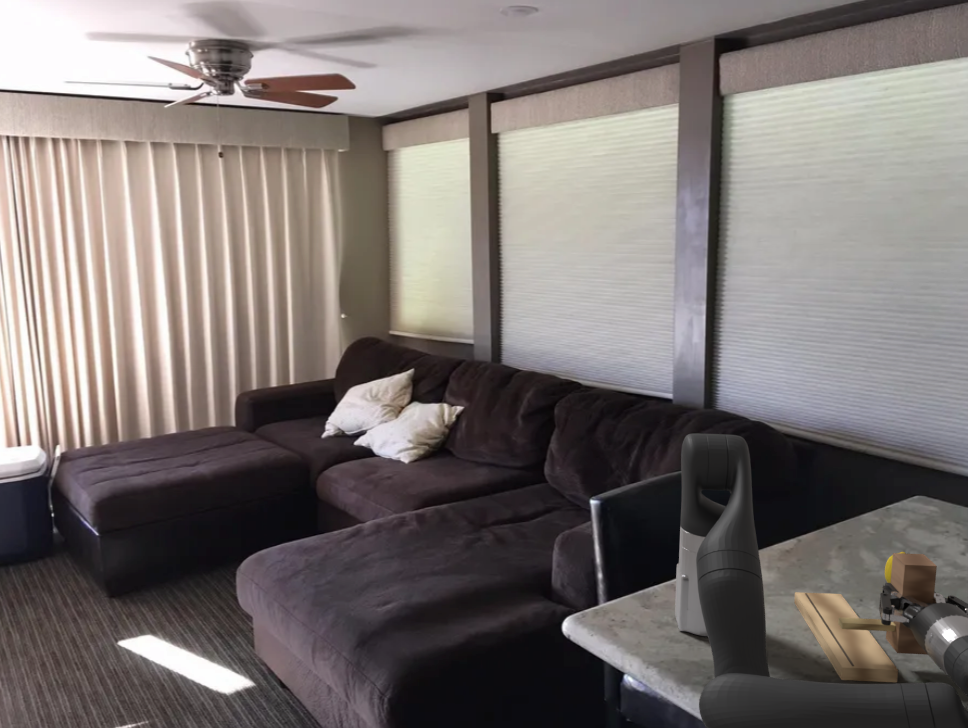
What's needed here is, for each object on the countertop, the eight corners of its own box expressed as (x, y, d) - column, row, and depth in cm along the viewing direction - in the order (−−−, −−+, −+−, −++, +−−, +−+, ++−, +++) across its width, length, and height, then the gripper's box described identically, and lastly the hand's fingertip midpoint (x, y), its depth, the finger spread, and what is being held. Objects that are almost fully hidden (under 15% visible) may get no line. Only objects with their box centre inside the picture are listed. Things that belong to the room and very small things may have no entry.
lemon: (898, 601, 150) (901, 559, 149) (876, 588, 155) (879, 547, 154) (923, 597, 151) (927, 556, 150) (901, 585, 157) (904, 544, 155)
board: (841, 679, 124) (842, 666, 124) (794, 602, 149) (795, 591, 149) (897, 682, 123) (898, 669, 123) (840, 604, 149) (841, 593, 148)
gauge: (843, 650, 125) (850, 562, 123) (834, 636, 130) (840, 551, 127) (928, 654, 124) (936, 566, 122) (916, 640, 128) (923, 554, 126)
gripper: (897, 666, 112) (854, 609, 129) (1009, 671, 111) (950, 614, 128) (901, 614, 111) (857, 564, 128) (1014, 619, 110) (955, 567, 126)
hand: (904, 589), depth 128 cm, fingers closed on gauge, 4 cm apart
